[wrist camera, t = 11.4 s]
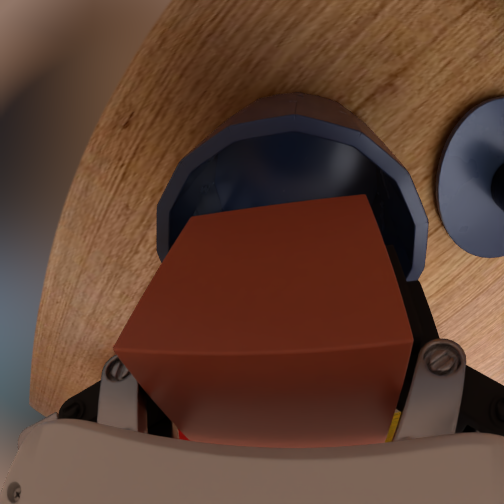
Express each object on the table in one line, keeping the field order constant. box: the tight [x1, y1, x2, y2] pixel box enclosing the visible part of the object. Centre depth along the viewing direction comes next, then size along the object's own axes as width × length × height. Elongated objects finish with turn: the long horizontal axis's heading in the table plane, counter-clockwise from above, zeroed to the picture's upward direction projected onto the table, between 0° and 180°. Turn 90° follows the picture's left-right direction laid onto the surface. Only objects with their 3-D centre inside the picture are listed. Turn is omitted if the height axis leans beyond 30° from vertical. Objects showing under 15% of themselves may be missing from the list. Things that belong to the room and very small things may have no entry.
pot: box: [157, 92, 429, 281], centre depth 16 cm, size 11×11×8 cm
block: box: [113, 194, 414, 448], centre depth 9 cm, size 6×6×6 cm
